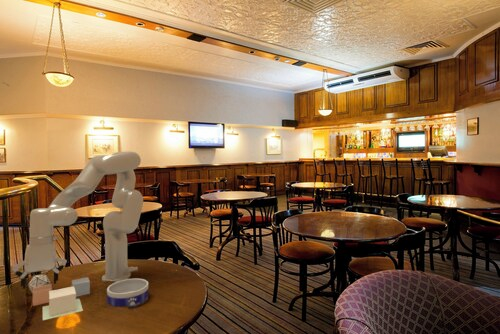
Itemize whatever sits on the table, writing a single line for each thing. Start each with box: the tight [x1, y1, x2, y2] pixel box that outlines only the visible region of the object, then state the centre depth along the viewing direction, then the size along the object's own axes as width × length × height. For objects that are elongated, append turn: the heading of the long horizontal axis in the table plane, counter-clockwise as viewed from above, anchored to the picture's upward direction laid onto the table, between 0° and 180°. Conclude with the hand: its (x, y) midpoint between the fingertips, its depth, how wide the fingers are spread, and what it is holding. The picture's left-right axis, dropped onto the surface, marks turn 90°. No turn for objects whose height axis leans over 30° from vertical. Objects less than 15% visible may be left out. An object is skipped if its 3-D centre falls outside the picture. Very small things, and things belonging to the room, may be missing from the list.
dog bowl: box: [106, 278, 149, 309], centre depth 120 cm, size 15×15×6 cm
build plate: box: [42, 298, 84, 321], centre depth 111 cm, size 12×12×1 cm
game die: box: [26, 272, 54, 296], centre depth 127 cm, size 9×8×10 cm
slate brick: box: [71, 276, 91, 297], centre depth 125 cm, size 6×6×6 cm
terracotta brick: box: [32, 283, 53, 307], centre depth 117 cm, size 6×6×6 cm
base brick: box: [48, 286, 77, 316], centre depth 111 cm, size 8×8×6 cm
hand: (39, 285), depth 116 cm, fingers open, 9 cm apart
